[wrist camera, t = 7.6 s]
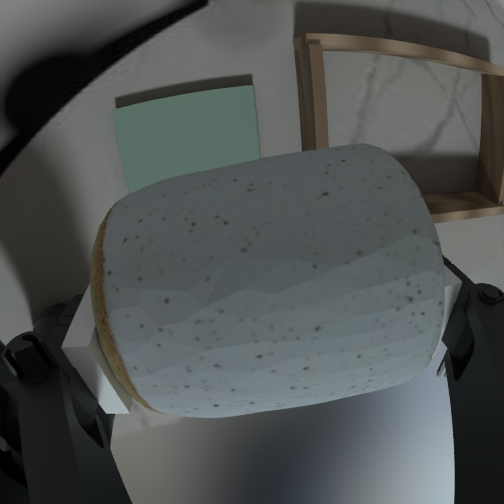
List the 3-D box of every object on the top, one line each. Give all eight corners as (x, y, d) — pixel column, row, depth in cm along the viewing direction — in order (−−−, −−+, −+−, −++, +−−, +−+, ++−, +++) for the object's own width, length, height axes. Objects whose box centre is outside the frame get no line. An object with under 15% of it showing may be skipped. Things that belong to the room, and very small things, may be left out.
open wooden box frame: (304, 216, 31) (319, 239, 27) (293, 40, 22) (309, 31, 18) (478, 198, 32) (503, 213, 28) (486, 66, 24) (516, 70, 19)
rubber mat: (141, 230, 30) (139, 234, 29) (115, 109, 24) (112, 109, 23) (264, 211, 30) (265, 216, 29) (251, 85, 24) (252, 85, 23)
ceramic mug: (119, 169, 11) (18, 299, 4) (334, 124, 11) (488, 196, 4) (194, 362, 16) (200, 497, 9) (342, 328, 16) (399, 449, 10)
